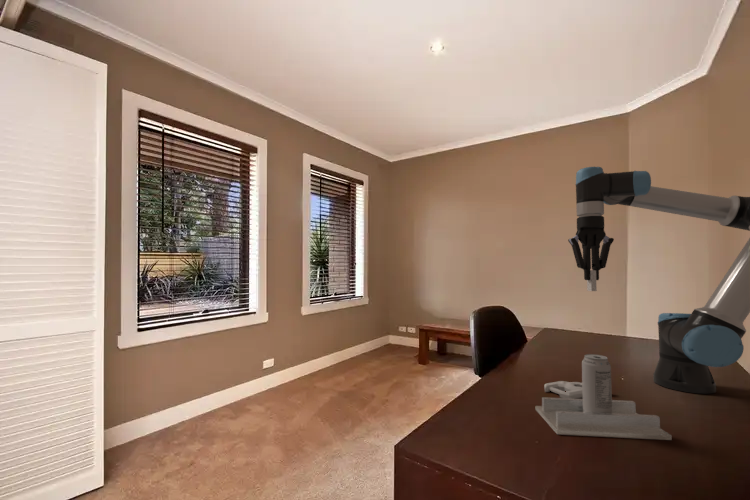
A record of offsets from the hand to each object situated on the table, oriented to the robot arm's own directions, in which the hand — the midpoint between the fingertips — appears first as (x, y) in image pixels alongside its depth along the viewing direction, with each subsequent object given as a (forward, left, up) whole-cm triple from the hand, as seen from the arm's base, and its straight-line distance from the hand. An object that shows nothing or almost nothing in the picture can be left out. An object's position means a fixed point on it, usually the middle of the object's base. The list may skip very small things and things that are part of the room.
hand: (591, 290), depth 112 cm
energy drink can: (+12, +26, -30) cm, 41 cm away
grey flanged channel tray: (+12, +26, -30) cm, 42 cm away
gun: (+7, +4, -31) cm, 32 cm away
